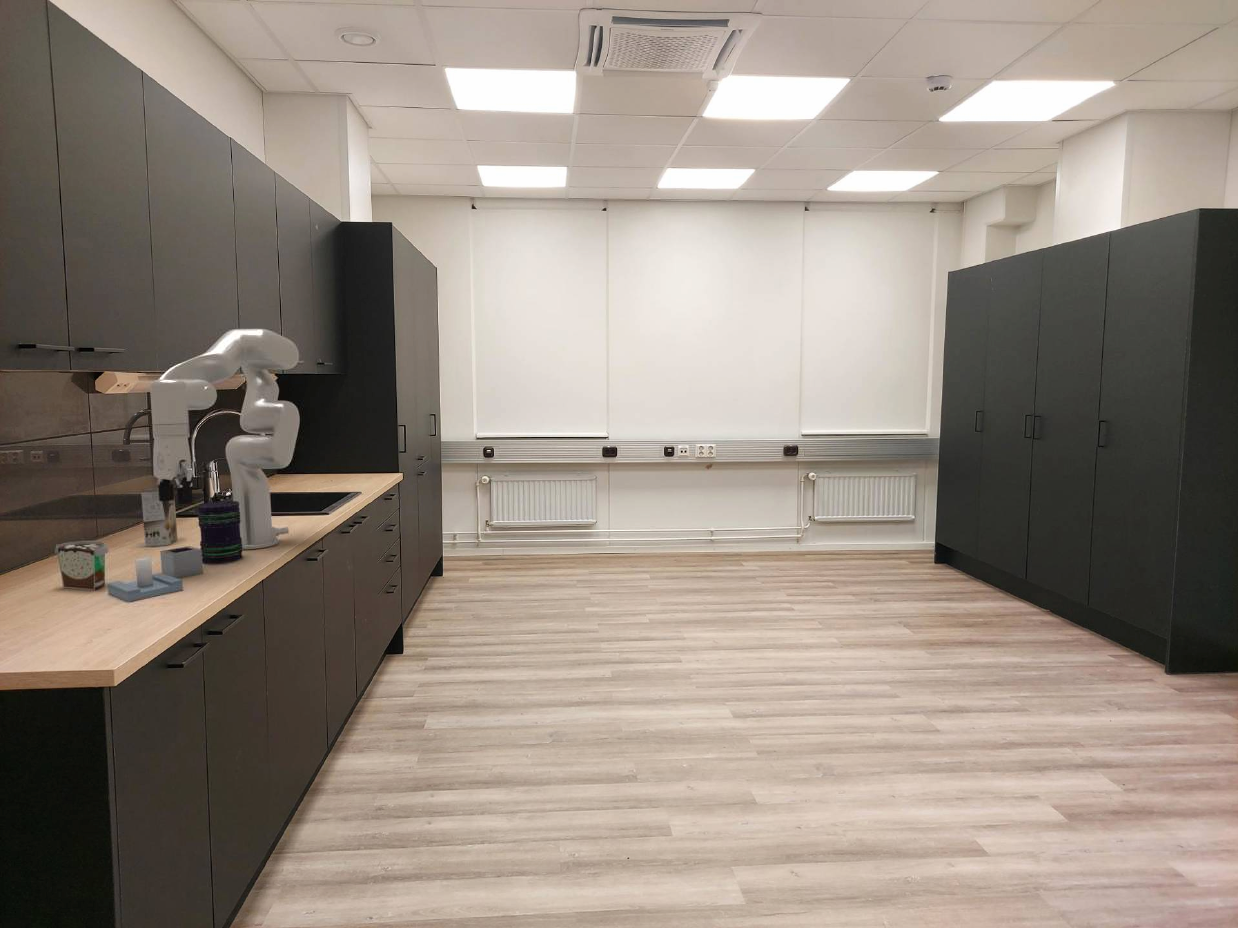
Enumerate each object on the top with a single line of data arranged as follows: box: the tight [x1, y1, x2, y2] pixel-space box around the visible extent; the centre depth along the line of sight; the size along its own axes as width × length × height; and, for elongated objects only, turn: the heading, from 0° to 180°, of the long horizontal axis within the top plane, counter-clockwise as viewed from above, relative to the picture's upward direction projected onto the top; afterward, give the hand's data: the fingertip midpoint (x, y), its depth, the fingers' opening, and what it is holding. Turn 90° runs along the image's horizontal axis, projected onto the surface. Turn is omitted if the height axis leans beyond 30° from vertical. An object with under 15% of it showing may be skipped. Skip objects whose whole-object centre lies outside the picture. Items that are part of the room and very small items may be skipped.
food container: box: [54, 540, 109, 591], centre depth 174 cm, size 12×6×10 cm, turn 74°
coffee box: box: [140, 486, 178, 547], centre depth 219 cm, size 9×6×16 cm
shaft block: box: [106, 557, 184, 603], centre depth 169 cm, size 11×11×8 cm
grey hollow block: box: [159, 545, 204, 579], centre depth 184 cm, size 7×7×6 cm
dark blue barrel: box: [197, 500, 244, 565], centre depth 198 cm, size 10×10×15 cm
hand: (175, 502), depth 182 cm, fingers open, 9 cm apart
